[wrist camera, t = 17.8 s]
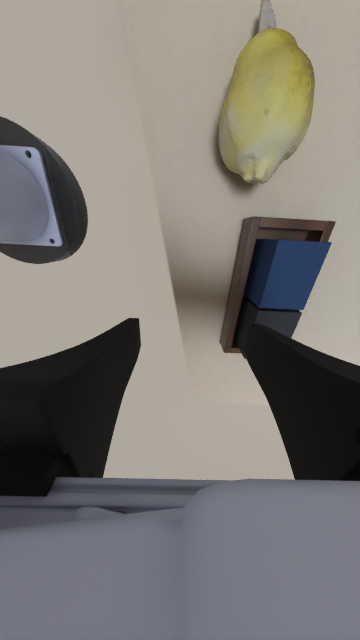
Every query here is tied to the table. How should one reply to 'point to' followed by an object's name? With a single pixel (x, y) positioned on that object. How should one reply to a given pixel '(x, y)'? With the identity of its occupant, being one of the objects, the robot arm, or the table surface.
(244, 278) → the frame
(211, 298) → the table surface
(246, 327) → the dark grey rectangular block
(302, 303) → the blue rectangular block
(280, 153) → the fruit
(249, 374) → the table surface
